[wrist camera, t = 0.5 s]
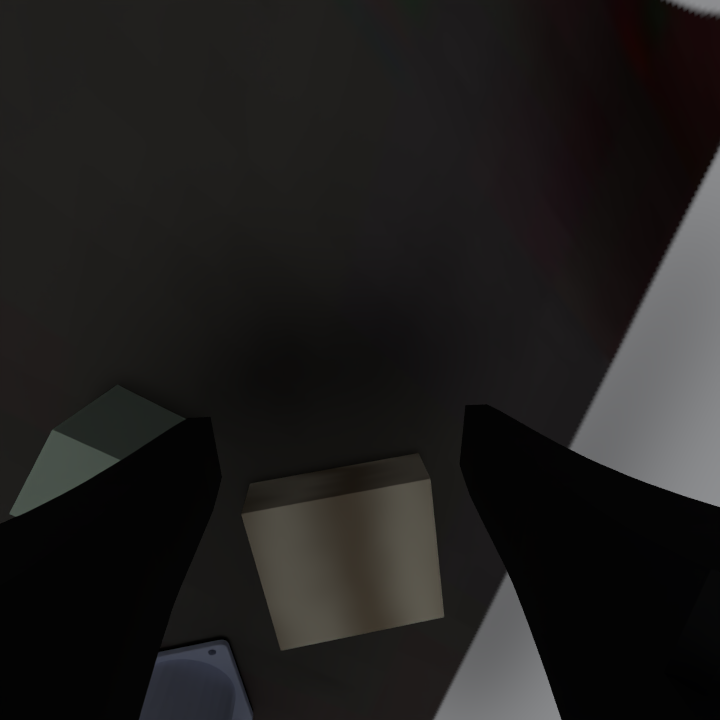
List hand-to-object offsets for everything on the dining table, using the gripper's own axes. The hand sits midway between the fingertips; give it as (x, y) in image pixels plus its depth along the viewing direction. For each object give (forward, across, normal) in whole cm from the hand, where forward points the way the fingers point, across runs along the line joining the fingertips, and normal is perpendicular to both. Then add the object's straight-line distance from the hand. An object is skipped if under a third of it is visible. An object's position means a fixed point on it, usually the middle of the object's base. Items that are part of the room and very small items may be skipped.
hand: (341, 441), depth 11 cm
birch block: (+9, 0, +13) cm, 16 cm away
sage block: (+9, +11, +5) cm, 15 cm away
